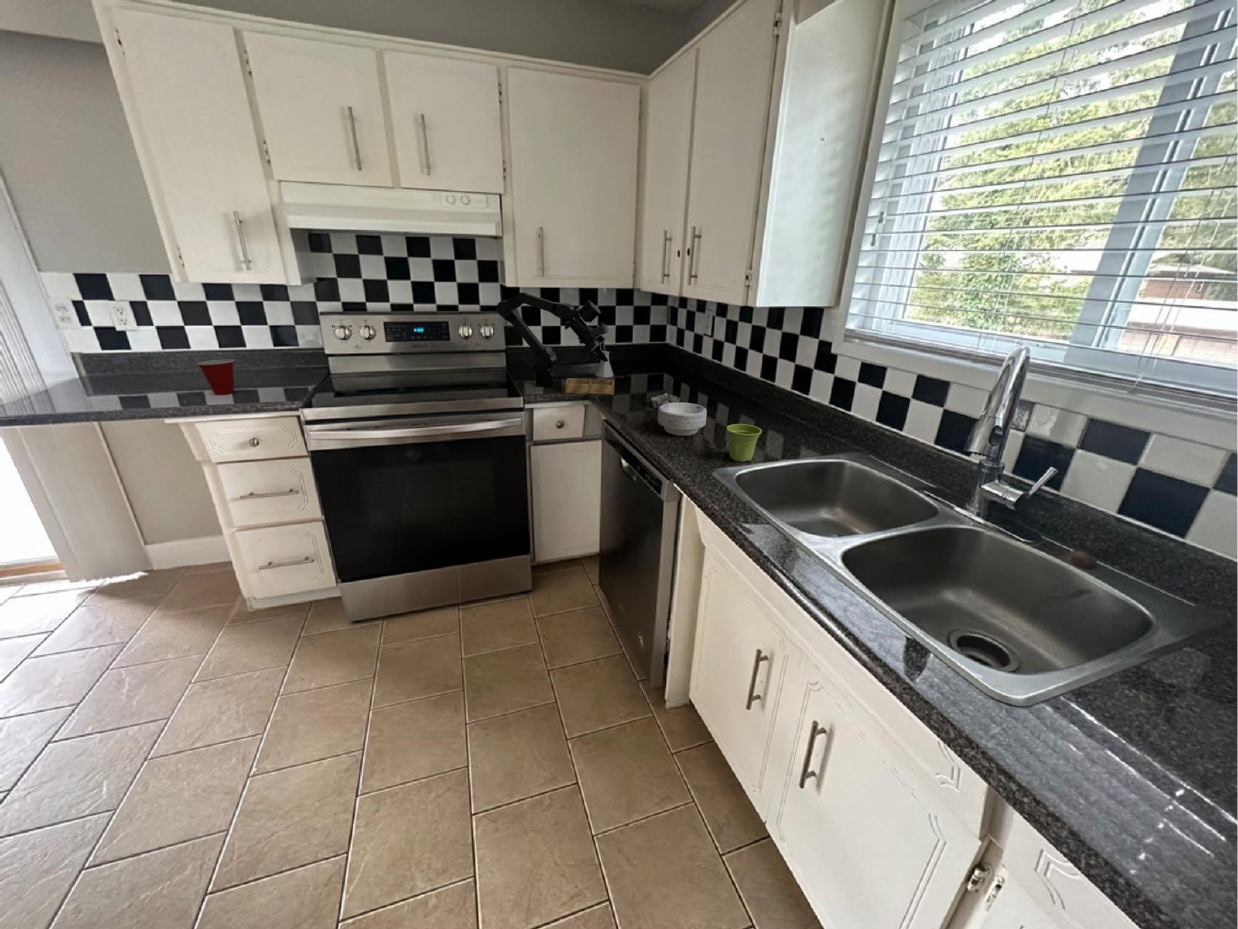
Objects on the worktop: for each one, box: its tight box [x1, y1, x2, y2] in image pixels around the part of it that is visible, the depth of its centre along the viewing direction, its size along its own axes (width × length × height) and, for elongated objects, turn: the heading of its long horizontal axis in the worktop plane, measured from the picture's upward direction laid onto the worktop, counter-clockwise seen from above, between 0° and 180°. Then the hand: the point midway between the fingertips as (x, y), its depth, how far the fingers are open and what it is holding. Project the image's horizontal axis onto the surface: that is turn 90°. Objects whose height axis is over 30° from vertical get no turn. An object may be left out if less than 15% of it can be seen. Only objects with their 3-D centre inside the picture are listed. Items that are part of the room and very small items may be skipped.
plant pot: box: [726, 423, 763, 463], centre depth 139 cm, size 9×9×9 cm
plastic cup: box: [196, 358, 235, 396], centre depth 182 cm, size 11×11×12 cm
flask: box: [594, 350, 615, 378], centre depth 204 cm, size 7×7×10 cm
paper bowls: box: [657, 402, 708, 437], centre depth 159 cm, size 15×15×8 cm
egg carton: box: [651, 392, 681, 409], centre depth 188 cm, size 11×8×4 cm
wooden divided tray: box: [564, 377, 615, 395], centre depth 206 cm, size 20×10×4 cm, turn 91°
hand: (608, 360), depth 203 cm, fingers closed on flask, 3 cm apart
